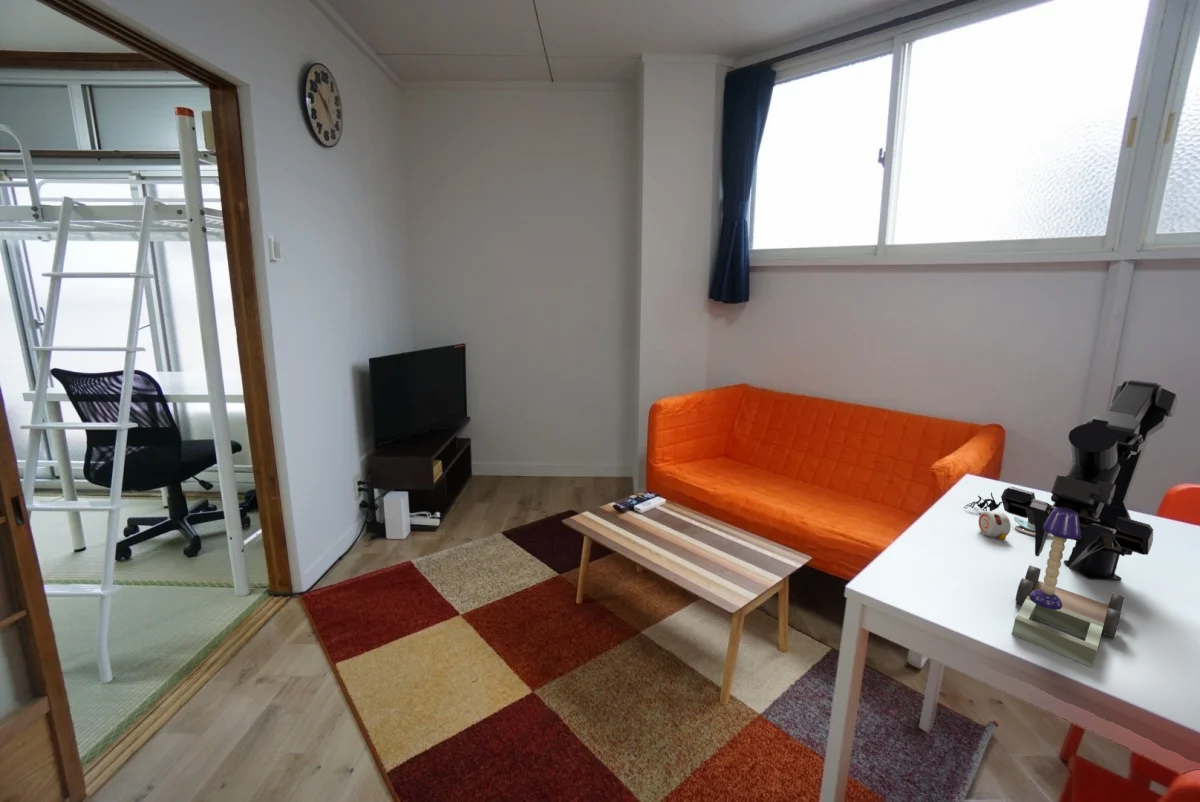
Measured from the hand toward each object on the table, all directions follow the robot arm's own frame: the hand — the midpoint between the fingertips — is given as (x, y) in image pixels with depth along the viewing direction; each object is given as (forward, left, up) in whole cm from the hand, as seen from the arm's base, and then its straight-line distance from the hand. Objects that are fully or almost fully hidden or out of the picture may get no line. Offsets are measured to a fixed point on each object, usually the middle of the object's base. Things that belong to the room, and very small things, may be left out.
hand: (1052, 560), depth 85 cm
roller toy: (-17, -36, -14) cm, 42 cm away
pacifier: (-28, -39, -14) cm, 50 cm away
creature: (-22, -49, -14) cm, 56 cm away
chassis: (-7, -3, -13) cm, 15 cm away
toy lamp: (-1, -1, -8) cm, 8 cm away
